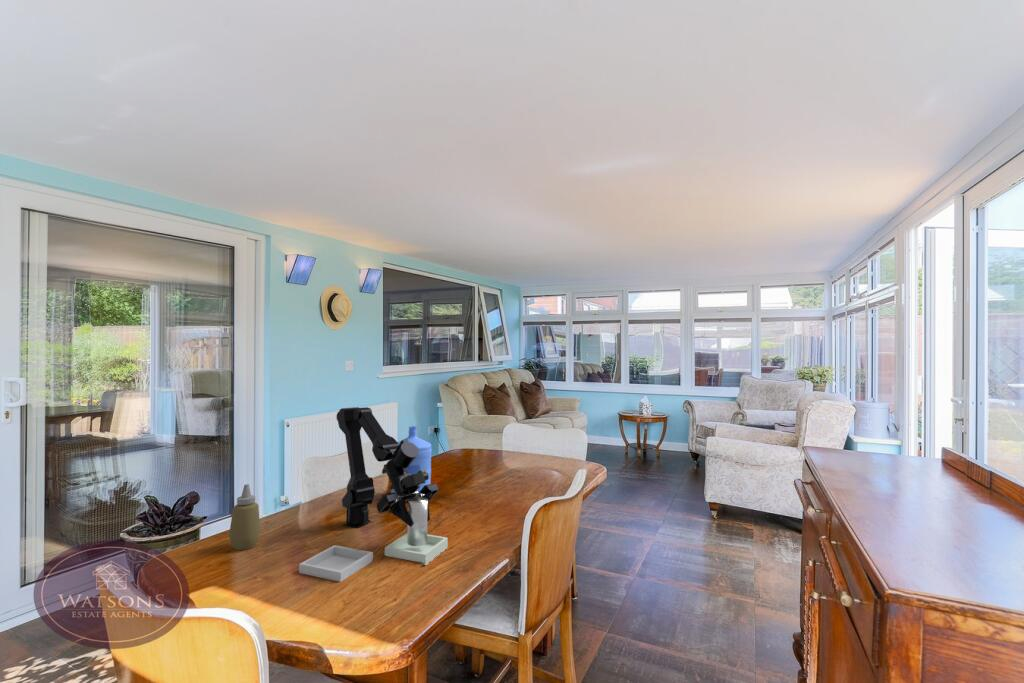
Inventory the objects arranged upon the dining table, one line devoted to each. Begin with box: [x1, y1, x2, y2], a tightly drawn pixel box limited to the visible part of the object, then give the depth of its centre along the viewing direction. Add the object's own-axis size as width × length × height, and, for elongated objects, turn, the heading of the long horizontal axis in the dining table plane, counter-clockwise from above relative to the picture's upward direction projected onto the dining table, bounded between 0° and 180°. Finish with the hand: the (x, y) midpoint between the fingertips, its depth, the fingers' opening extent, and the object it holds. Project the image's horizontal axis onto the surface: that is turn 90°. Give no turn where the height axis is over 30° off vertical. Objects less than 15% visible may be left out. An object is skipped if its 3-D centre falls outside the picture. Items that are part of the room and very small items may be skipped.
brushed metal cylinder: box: [406, 497, 428, 546], centre depth 136 cm, size 6×6×12 cm
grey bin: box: [298, 544, 374, 582], centre depth 124 cm, size 13×13×3 cm
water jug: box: [390, 425, 433, 493], centre depth 191 cm, size 16×16×28 cm
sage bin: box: [384, 533, 449, 566], centre depth 136 cm, size 13×13×3 cm
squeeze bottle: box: [228, 483, 261, 551], centre depth 138 cm, size 8×8×18 cm
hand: (420, 523), depth 135 cm, fingers closed on brushed metal cylinder, 6 cm apart
